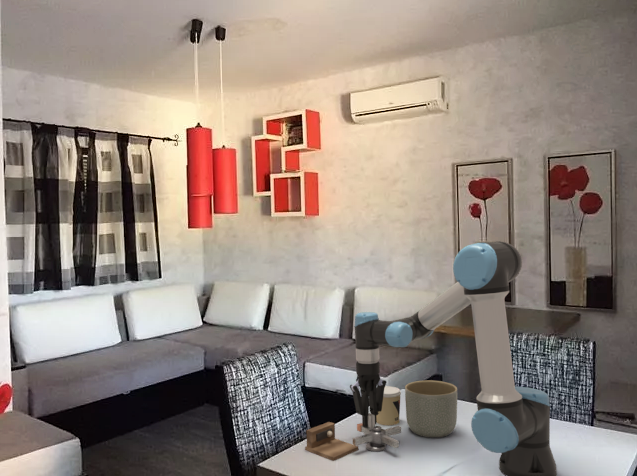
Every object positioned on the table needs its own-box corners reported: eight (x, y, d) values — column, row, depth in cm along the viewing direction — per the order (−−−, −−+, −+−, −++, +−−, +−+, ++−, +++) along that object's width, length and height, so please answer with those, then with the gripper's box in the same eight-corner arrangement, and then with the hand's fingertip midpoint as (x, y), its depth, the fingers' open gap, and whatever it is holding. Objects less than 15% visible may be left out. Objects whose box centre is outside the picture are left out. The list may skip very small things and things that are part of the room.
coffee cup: (400, 429, 198) (399, 394, 197) (372, 428, 200) (372, 393, 199) (402, 420, 207) (401, 386, 207) (375, 418, 209) (375, 385, 208)
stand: (398, 450, 181) (398, 427, 180) (352, 471, 166) (352, 447, 166) (351, 434, 195) (350, 413, 194) (305, 453, 180) (304, 430, 180)
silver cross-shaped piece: (381, 432, 193) (381, 413, 193) (419, 449, 178) (419, 429, 178) (336, 444, 183) (336, 424, 183) (373, 464, 168) (372, 443, 168)
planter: (403, 441, 188) (402, 393, 187) (408, 422, 204) (407, 379, 204) (457, 445, 184) (457, 396, 183) (458, 426, 200) (457, 381, 200)
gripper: (378, 356, 194) (380, 428, 194) (343, 362, 187) (345, 436, 187) (392, 360, 188) (394, 434, 188) (356, 366, 181) (358, 442, 181)
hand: (369, 435), depth 187 cm, fingers closed
